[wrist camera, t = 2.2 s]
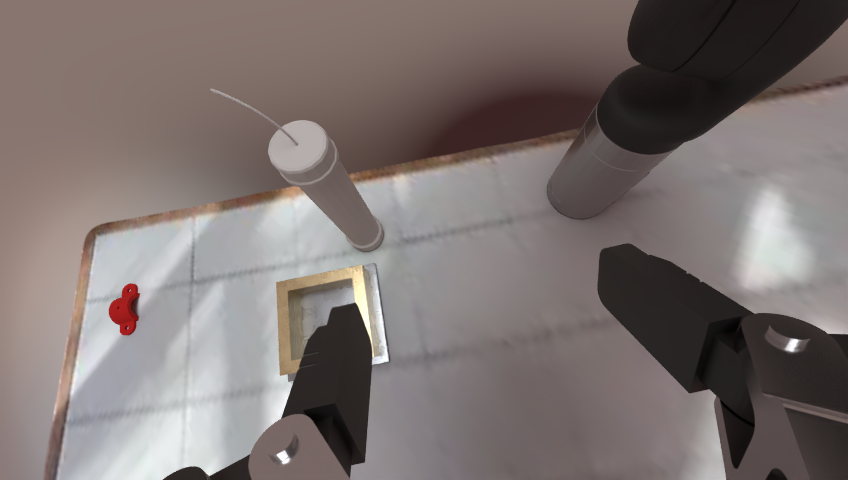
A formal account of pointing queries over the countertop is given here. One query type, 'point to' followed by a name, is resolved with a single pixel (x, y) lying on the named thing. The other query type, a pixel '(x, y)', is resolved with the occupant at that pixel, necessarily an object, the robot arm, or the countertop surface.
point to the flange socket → (327, 310)
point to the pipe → (322, 178)
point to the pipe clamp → (125, 310)
